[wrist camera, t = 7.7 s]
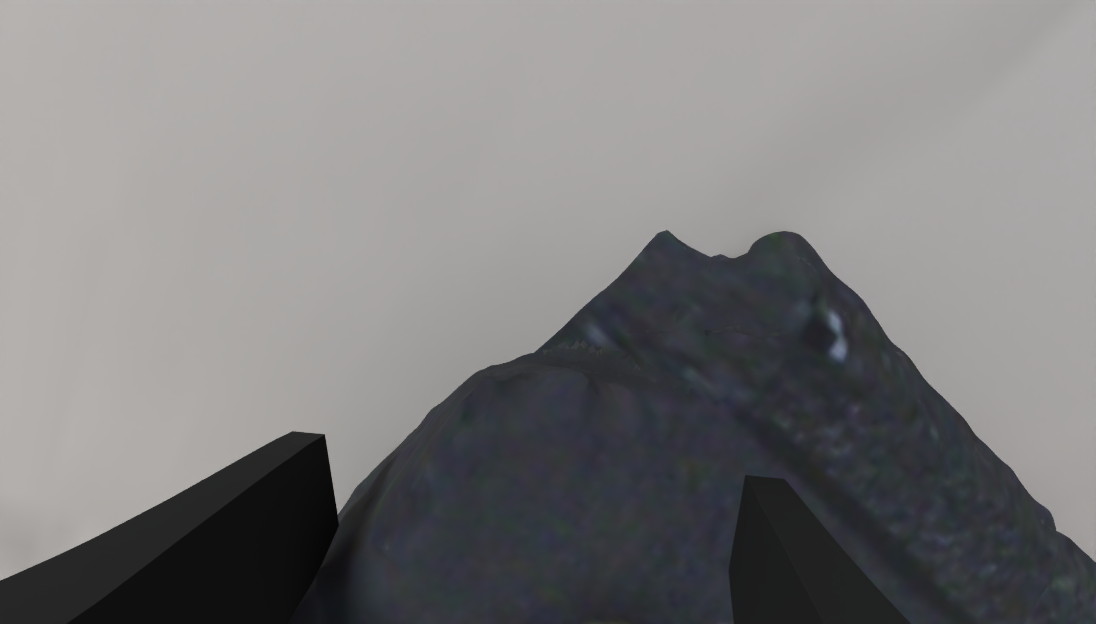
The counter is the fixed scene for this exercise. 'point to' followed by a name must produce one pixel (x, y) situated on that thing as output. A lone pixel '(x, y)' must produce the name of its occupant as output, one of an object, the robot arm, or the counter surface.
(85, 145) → the counter surface
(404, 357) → the counter surface
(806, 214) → the counter surface
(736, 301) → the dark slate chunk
